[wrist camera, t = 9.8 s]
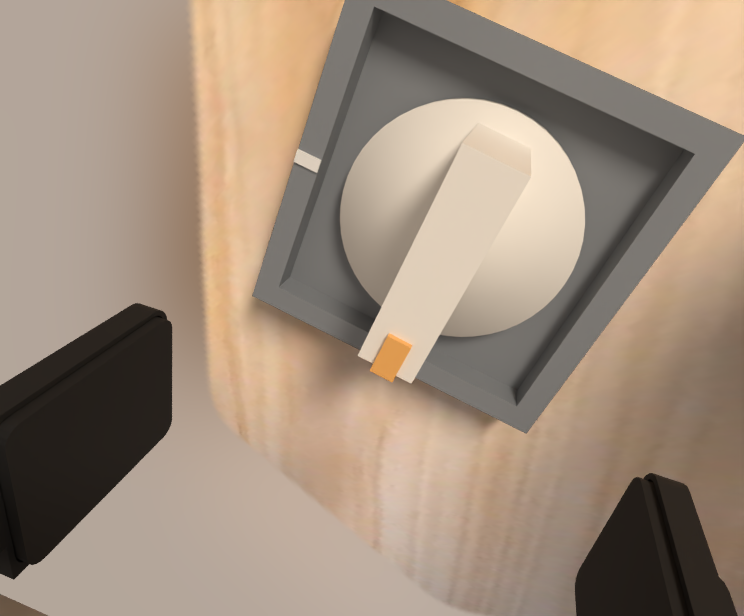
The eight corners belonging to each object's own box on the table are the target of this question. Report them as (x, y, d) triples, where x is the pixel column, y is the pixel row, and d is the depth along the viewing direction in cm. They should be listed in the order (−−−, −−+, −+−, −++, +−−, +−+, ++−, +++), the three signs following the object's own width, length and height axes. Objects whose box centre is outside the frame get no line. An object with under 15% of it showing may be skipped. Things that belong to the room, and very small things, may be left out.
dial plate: (717, 126, 22) (748, 137, 19) (526, 395, 30) (526, 435, 27) (380, -27, 23) (356, -41, 20) (279, 272, 31) (250, 297, 28)
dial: (400, 53, 22) (350, 50, 16) (637, 168, 22) (681, 212, 15) (316, 266, 28) (253, 327, 21) (504, 363, 27) (496, 455, 21)
